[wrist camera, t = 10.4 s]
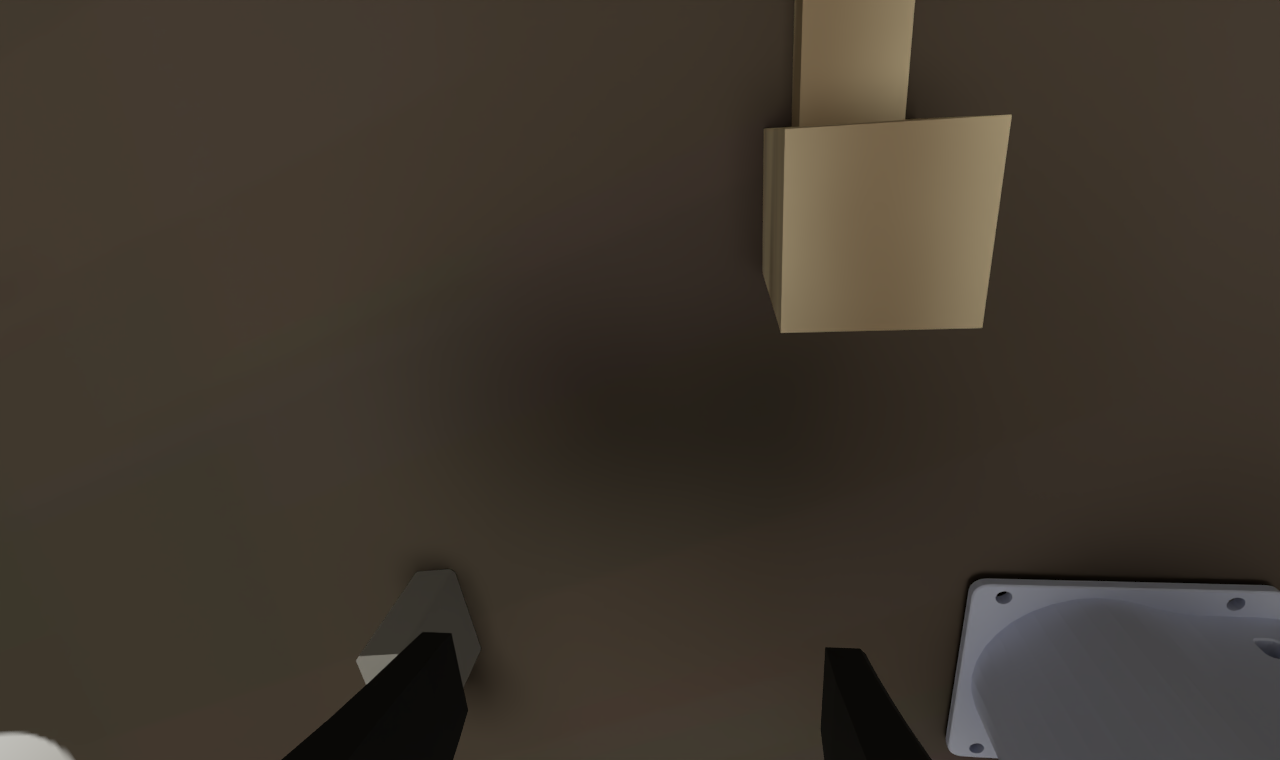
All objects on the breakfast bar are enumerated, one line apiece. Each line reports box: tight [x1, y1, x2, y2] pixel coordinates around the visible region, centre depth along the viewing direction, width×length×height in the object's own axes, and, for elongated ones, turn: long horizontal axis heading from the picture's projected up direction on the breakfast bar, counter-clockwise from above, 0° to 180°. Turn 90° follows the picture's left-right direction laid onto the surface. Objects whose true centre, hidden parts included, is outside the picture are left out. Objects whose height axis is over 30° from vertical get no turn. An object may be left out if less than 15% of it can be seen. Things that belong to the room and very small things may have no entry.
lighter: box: [356, 569, 481, 688], centre depth 22 cm, size 7×2×8 cm, turn 10°
